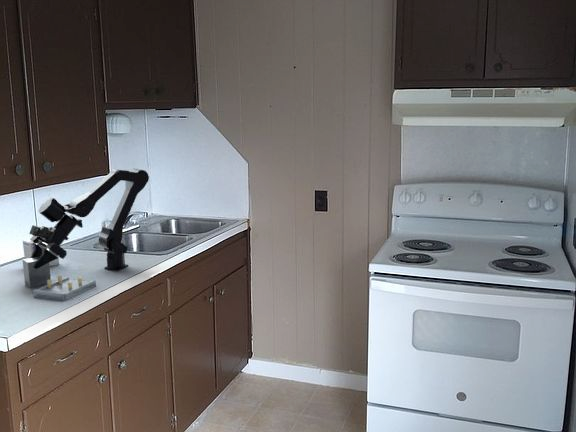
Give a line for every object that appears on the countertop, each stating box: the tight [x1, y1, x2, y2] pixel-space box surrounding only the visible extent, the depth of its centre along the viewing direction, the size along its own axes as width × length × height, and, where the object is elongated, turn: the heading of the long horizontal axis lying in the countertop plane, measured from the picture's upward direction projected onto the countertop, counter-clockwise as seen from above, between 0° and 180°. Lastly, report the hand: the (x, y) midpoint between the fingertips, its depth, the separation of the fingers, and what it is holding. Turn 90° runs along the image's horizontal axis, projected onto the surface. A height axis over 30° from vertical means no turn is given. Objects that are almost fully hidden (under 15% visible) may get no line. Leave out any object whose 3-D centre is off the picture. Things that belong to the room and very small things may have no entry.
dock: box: [32, 274, 97, 302], centre depth 193 cm, size 16×12×4 cm
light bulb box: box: [22, 238, 60, 267], centre depth 221 cm, size 11×7×11 cm, turn 141°
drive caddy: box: [22, 257, 52, 289], centre depth 200 cm, size 7×5×9 cm
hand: (32, 266), depth 199 cm, fingers closed on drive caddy, 5 cm apart
